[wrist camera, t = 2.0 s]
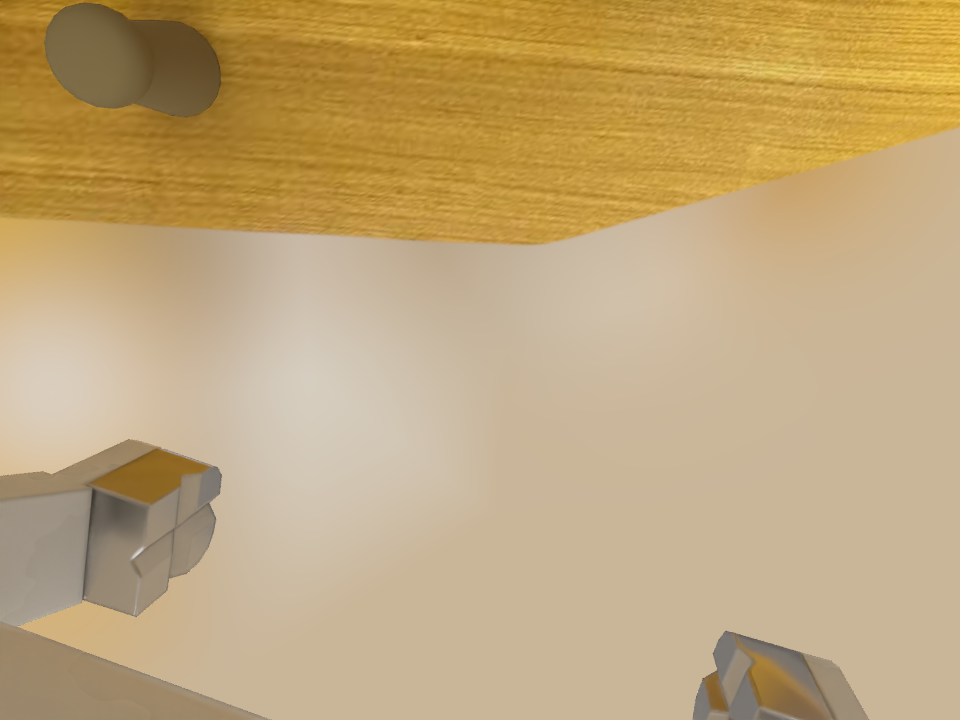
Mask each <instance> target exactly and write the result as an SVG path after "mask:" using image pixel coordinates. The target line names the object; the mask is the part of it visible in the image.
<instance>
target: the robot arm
mask: <svg viewBox="0 0 960 720" xmlns="http://www.w3.org/2000/svg"><path fill="white" fill-rule="evenodd" d="M221 478H222V474H221V473H220V471H219V469H218V467H215V466H212V465H209V464H206V463H203V462H200V461H198V460H195V459H192V458H189V457H186V456H183V455H180V454H177V453H174V452H171V451H168V450H165V449H162V448H160V447H158V446H154V445H151V444H148V443H144V442H141V441H137V440H130V439H128V440H126V441H124V442H122V443H120V444H117V445H115V446H113V447H111V448H109V449H106V450H104V451H102V452H100V453H98V454H96V455H93V456H92V457H89V458H87V459H85V460H83V461H80V462H78V463H76V464H74V465H72V466H69V467H67V468H65V469H63V470H61V471H59V472H56V473H54V474H49V473H46V472H33V473H24V474H14V475H5V476H0V720H270V719H267V718H265V717H262V716H259V715H256V714H254V713H251V712H248V711H245V710H243V709H240V708H237V707H234V706H231V705H229V704H226V703H224V702H221V701H218V700H215V699H213V698H210V697H207V696H204V695H202V694H199V693H196V692H193V691H191V690H188V689H185V688H182V687H180V686H177V685H174V684H172V683H168V682H166V681H163V680H161V679H158V678H155V677H152V676H150V675H147V674H144V673H141V672H139V671H136V670H133V669H130V668H128V667H125V666H122V665H119V664H117V663H114V662H111V661H108V660H106V659H103V658H100V657H97V656H95V655H92V654H89V653H87V652H83V651H81V650H78V649H76V648H73V647H70V646H67V645H65V644H62V643H59V642H56V641H54V640H51V639H48V638H45V637H42V636H40V635H37V634H34V633H32V632H29V631H26V630H23V629H21V628H18V627H17V626H20V625H22V624H25V623H28V622H30V621H33V620H36V619H39V618H41V617H44V616H47V615H50V614H53V613H55V612H58V611H61V610H63V609H66V608H69V607H71V606H74V605H77V604H80V603H82V600H85V601H88V602H91V603H94V604H97V605H101V606H103V607H107V608H110V609H113V610H116V611H119V612H123V613H125V614H129V615H132V616H135V617H137V616H138V615H139V614H140V613H141V612H143V611H144V610H145V609H146V608H147V607H149V606H150V605H151V604H152V603H153V602H154V601H155V600H157V599H158V598H159V597H160V596H161V595H163V594H164V593H165V592H166V591H167V589H168V582H169V578H173V577H176V576H180V575H184V574H187V573H188V572H189V571H190V570H191V569H192V568H193V567H194V566H195V565H197V563H198V562H199V561H200V559H201V558H202V556H203V555H204V553H205V552H206V550H207V549H208V547H209V544H210V542H211V539H212V535H213V533H214V528H215V522H216V517H215V515H214V512H213V510H212V508H211V506H210V504H209V503H210V502H211V501H212V500H213V499H214V498H216V497H217V496H218V495H219V494H220V488H221ZM713 656H714V659H715V663H716V667H717V671H715V672H713V673H711V674H710V675H708V676H706V677H705V678H703V680H702V682H701V685H700V688H699V690H698V693H697V696H696V700H695V706H694V713H693V720H869V719H868V717H867V715H866V713H865V712H864V710H863V708H862V706H861V705H860V703H859V701H858V699H857V698H856V696H855V694H854V692H853V691H852V689H851V687H850V686H849V684H848V682H847V681H846V678H845V677H844V675H843V673H842V671H841V670H840V668H839V667H838V666H837V665H836V664H834V663H833V662H832V661H830V660H826V659H823V658H819V657H816V656H812V655H808V654H805V653H801V652H798V651H794V650H791V649H787V648H784V647H781V646H777V645H774V644H771V643H767V642H764V641H760V640H757V639H753V638H750V637H746V636H743V635H740V634H736V633H733V632H728V631H725V632H724V633H723V635H722V636H721V637H720V639H719V640H718V643H717V645H716V648H715V650H714V652H713Z"/></svg>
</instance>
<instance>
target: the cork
mask: <svg viewBox="0 0 960 720" xmlns="http://www.w3.org/2000/svg"><path fill="white" fill-rule="evenodd" d="M45 51H46V58H47V60H48V62H49V65H50V67H51V69H52V72H53V74H54V75H55V77H56V78H57V79H58V81H59V82H60V83H61V85H62V86H63V87H64V88H65V89H66V90H67V91H69V92H70V93H71V94H72V95H74V96H75V97H76V98H78V99H80V100H82V101H84V102H87V103H89V104H91V105H94V106H96V107H103V108H120V107H125V106H129V105H131V104H133V103H134V104H138V105H141V106H144V107H147V108H150V109H153V110H156V111H160V112H163V113H166V114H169V115H172V116H180V117H189V116H193V115H197V114H200V113H201V112H203V111H204V110H206V109H207V108H209V107H210V105H211V104H212V102H213V101H214V100H215V98H216V97H217V94H218V90H219V86H220V83H221V81H220V66H219V63H218V60H217V57H216V54H215V52H214V50H213V49H212V47H211V46H210V44H209V43H208V41H207V40H206V39H205V38H204V37H203V36H202V35H201V34H200V33H198V32H197V31H196V30H195V29H194V28H192V27H189V26H187V25H185V24H183V23H181V22H174V21H159V20H129V19H128V18H126V17H125V16H124V15H123V14H122V13H120V12H117V11H115V10H113V9H111V8H109V7H106V6H104V5H101V4H93V3H79V4H75V5H71V6H68V7H65V8H63V9H62V10H61V11H60V12H58V13H57V14H56V15H54V17H53V19H52V20H51V22H50V24H49V26H48V27H47V31H46V37H45Z"/></svg>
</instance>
